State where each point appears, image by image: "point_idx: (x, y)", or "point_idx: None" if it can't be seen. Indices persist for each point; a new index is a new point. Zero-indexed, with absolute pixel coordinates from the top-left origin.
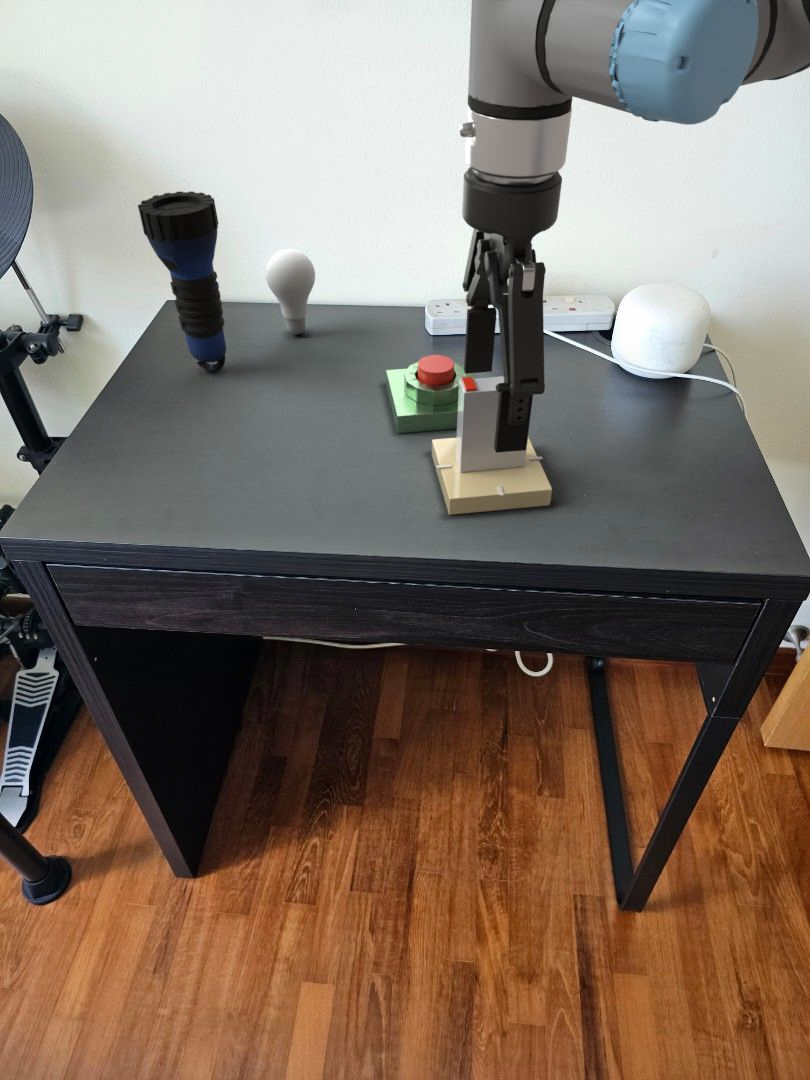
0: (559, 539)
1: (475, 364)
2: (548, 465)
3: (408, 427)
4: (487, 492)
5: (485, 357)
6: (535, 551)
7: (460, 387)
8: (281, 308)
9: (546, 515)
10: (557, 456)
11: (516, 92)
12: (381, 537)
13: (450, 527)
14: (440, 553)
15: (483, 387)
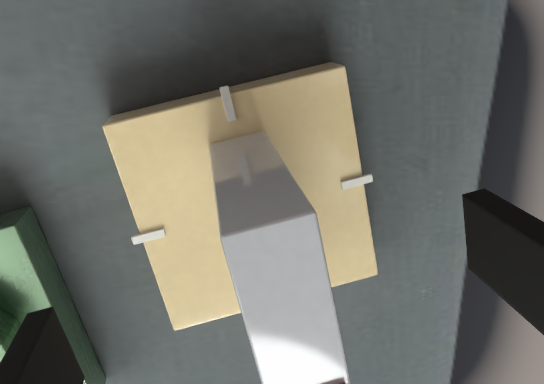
0: (437, 47)
1: (67, 374)
2: (179, 57)
3: (96, 369)
4: (358, 206)
5: (46, 362)
6: (467, 96)
7: None
8: None
9: (363, 70)
10: (136, 31)
11: None
12: (418, 347)
13: (396, 249)
14: (460, 258)
15: (325, 366)
